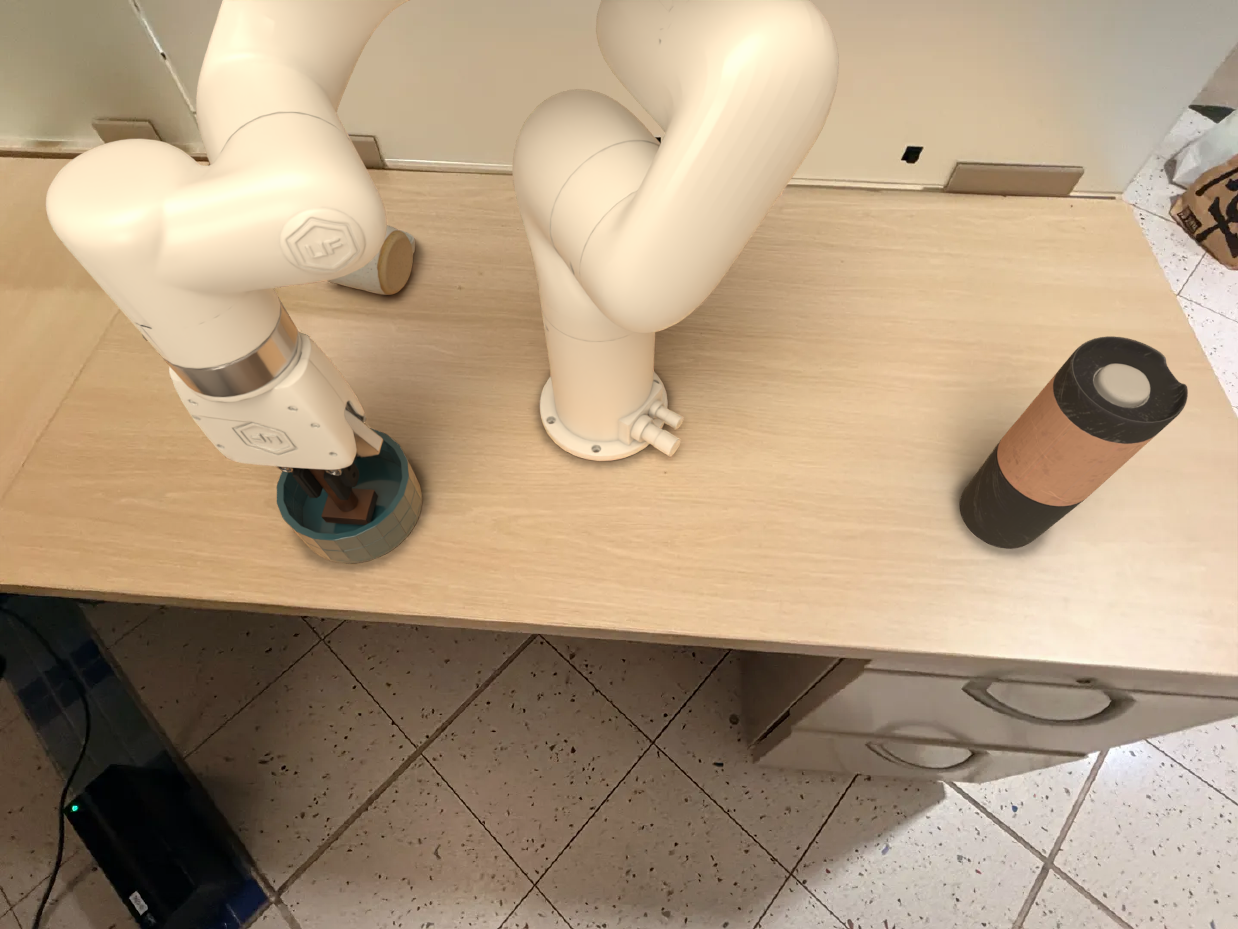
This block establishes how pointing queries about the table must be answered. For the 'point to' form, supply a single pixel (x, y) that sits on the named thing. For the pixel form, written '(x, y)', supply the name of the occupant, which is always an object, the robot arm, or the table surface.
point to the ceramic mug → (385, 266)
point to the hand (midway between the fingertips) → (334, 483)
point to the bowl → (389, 517)
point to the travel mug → (1072, 439)
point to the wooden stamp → (347, 504)
